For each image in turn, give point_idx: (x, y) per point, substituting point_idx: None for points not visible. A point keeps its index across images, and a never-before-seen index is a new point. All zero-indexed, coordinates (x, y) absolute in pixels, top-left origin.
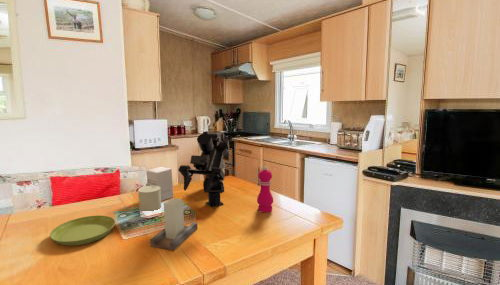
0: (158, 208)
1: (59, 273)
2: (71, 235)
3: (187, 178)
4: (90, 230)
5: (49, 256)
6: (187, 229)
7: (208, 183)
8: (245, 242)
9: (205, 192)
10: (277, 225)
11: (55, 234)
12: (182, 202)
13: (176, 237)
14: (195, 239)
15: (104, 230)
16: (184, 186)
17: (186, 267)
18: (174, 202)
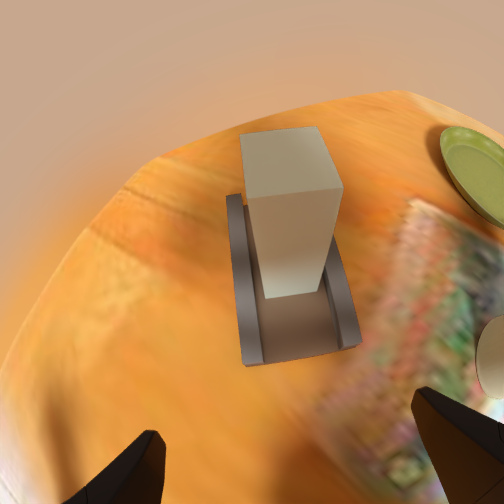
0: (497, 361)
1: (368, 103)
2: (490, 169)
3: (495, 478)
4: (496, 195)
5: (435, 123)
6: (242, 287)
7: (98, 490)
8: (60, 333)
9: (161, 439)
10: (26, 449)
11: (497, 154)
12: (248, 207)
13: (242, 223)
14: (204, 291)
15: (483, 206)
16: (443, 401)
17: (160, 183)
18: (264, 148)
